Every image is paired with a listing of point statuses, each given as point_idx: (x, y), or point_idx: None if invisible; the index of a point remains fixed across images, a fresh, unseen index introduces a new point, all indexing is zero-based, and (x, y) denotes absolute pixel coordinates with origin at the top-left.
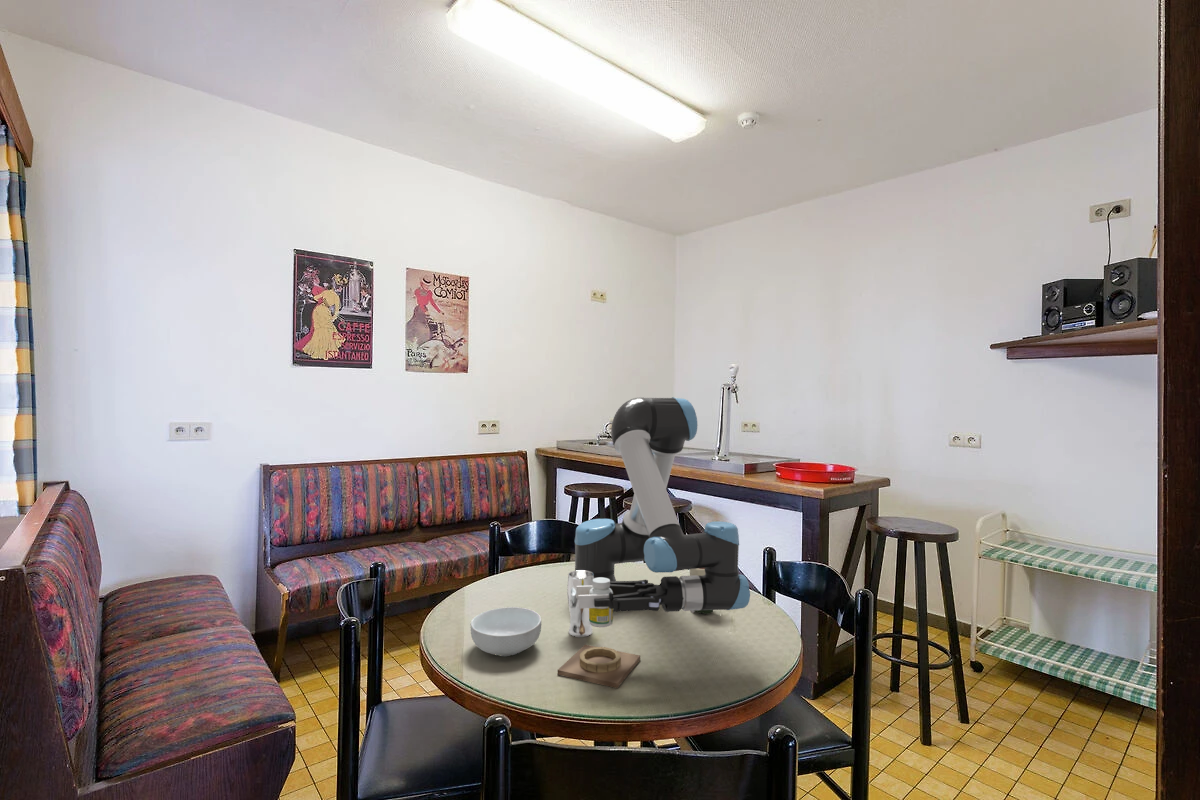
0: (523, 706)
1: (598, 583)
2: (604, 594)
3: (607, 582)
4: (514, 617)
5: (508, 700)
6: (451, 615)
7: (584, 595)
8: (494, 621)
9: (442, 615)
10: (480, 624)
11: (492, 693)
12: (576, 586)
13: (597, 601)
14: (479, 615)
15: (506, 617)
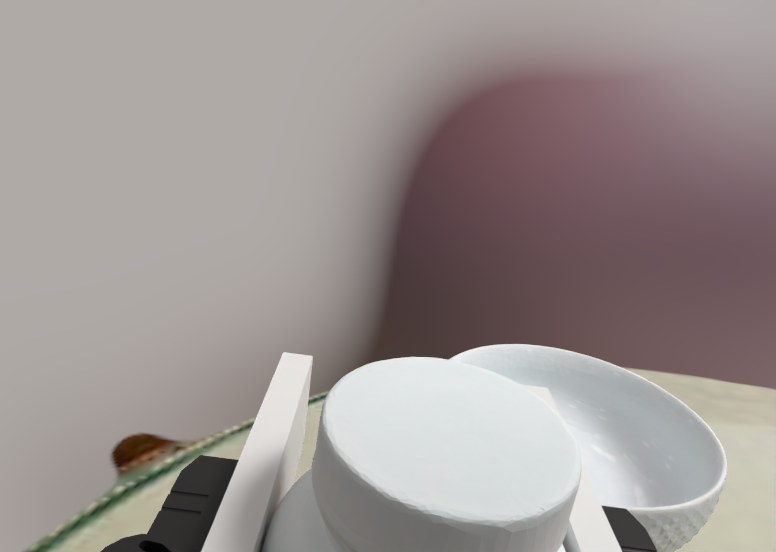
0: (104, 504)
1: (338, 385)
2: (239, 524)
3: (343, 465)
4: (695, 474)
5: (170, 472)
6: (742, 402)
7: (281, 379)
8: (647, 429)
9: (729, 388)
10: (592, 392)
11: (236, 443)
12: (544, 392)
13: (177, 482)
14: (602, 365)
15: (681, 452)
